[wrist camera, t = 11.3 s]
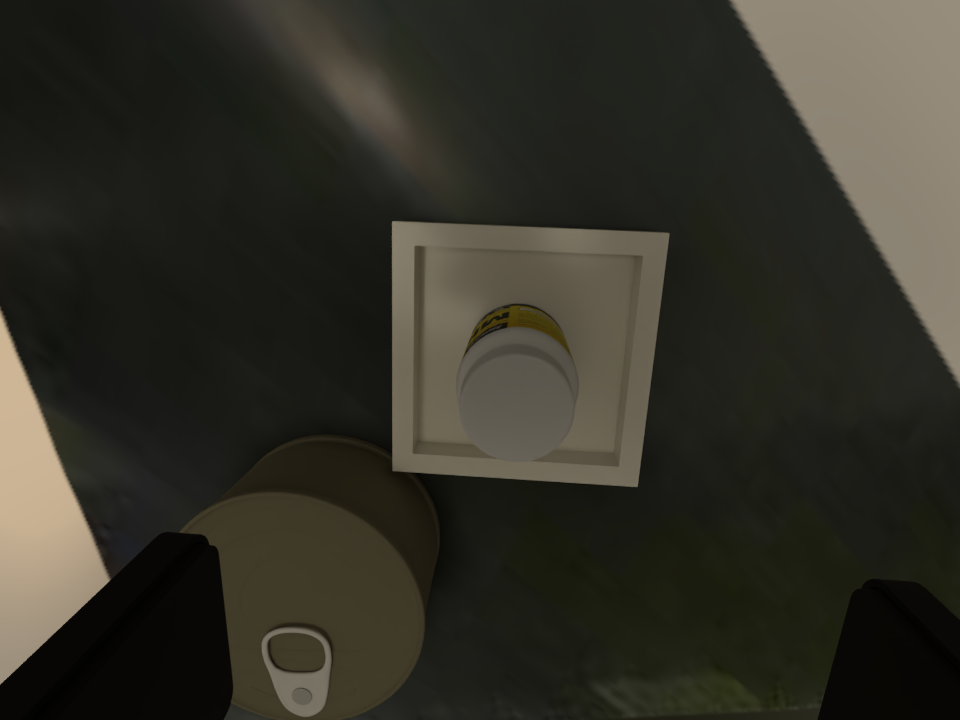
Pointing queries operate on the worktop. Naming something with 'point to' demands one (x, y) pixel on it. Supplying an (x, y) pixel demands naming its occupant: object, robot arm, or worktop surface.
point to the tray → (558, 291)
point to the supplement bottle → (517, 384)
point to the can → (323, 577)
